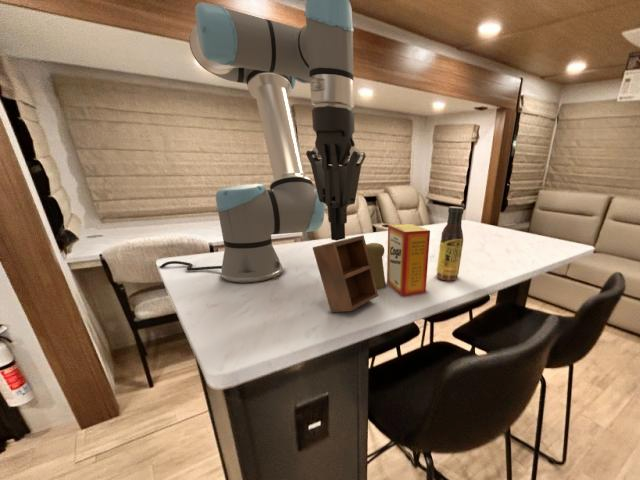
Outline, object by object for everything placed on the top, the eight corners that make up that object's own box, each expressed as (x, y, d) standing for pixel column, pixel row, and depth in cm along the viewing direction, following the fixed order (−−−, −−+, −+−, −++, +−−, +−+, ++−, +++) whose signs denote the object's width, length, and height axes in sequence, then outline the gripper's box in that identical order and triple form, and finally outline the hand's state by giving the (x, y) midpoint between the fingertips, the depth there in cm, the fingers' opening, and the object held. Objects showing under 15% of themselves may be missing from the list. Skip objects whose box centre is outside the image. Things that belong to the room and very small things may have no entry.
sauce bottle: (443, 282, 85) (450, 208, 78) (432, 275, 91) (438, 205, 83) (463, 280, 88) (472, 208, 80) (451, 273, 93) (458, 205, 85)
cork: (382, 289, 79) (382, 247, 75) (359, 287, 80) (358, 245, 76) (387, 282, 84) (388, 242, 80) (366, 279, 85) (366, 240, 81)
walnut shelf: (312, 247, 63) (332, 243, 59) (344, 239, 71) (363, 235, 67) (330, 311, 66) (351, 311, 63) (359, 297, 74) (378, 295, 71)
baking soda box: (386, 283, 83) (388, 223, 77) (408, 280, 86) (411, 222, 80) (402, 296, 76) (405, 230, 69) (425, 292, 78) (430, 229, 72)
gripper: (291, 106, 55) (302, 237, 65) (347, 102, 49) (351, 247, 59) (321, 113, 61) (327, 232, 71) (374, 110, 55) (373, 240, 65)
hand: (338, 238), depth 65 cm, fingers closed
